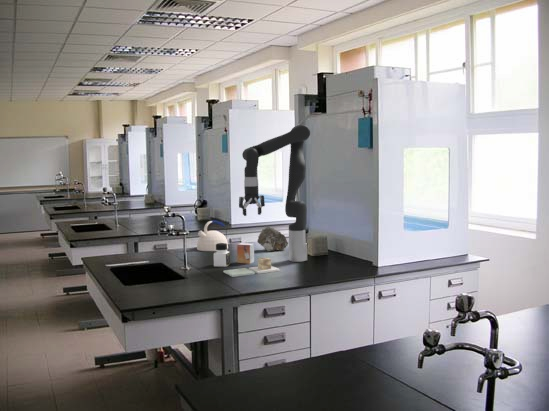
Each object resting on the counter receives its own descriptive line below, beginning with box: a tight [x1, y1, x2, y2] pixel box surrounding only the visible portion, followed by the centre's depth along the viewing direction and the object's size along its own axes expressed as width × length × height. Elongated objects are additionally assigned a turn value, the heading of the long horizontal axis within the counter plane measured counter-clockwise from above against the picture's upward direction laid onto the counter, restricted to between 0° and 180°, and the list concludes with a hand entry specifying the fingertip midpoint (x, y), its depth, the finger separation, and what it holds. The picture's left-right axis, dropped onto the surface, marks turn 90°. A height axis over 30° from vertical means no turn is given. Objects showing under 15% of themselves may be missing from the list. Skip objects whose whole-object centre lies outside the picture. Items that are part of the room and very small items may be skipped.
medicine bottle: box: [213, 243, 231, 268], centre depth 300 cm, size 7×7×12 cm
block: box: [257, 256, 272, 270], centre depth 285 cm, size 5×5×5 cm
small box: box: [236, 242, 255, 265], centre depth 306 cm, size 8×6×10 cm
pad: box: [248, 265, 281, 274], centre depth 285 cm, size 12×12×1 cm
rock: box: [257, 226, 289, 252], centre depth 345 cm, size 18×14×15 cm
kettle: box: [196, 220, 229, 252], centre depth 355 cm, size 20×21×18 cm
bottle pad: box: [223, 267, 256, 278], centre depth 279 cm, size 12×12×1 cm
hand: (252, 215), depth 301 cm, fingers open, 8 cm apart
